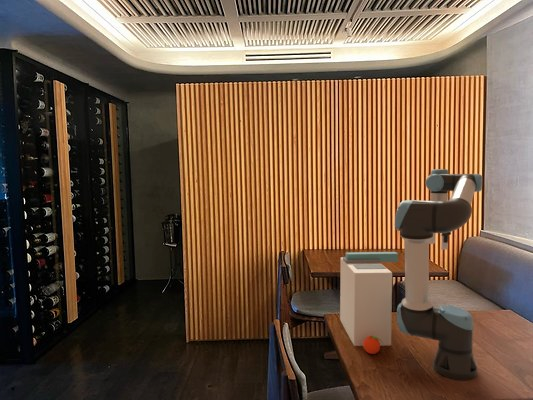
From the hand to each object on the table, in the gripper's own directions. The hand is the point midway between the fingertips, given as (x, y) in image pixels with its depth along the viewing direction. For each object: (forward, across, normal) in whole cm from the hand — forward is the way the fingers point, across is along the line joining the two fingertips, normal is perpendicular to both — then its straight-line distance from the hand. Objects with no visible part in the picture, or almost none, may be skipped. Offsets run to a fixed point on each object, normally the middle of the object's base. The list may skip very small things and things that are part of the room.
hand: (437, 246), depth 192 cm
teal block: (+7, 0, +32) cm, 32 cm away
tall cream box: (+39, -6, +37) cm, 54 cm away
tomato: (+39, -28, +38) cm, 61 cm away
